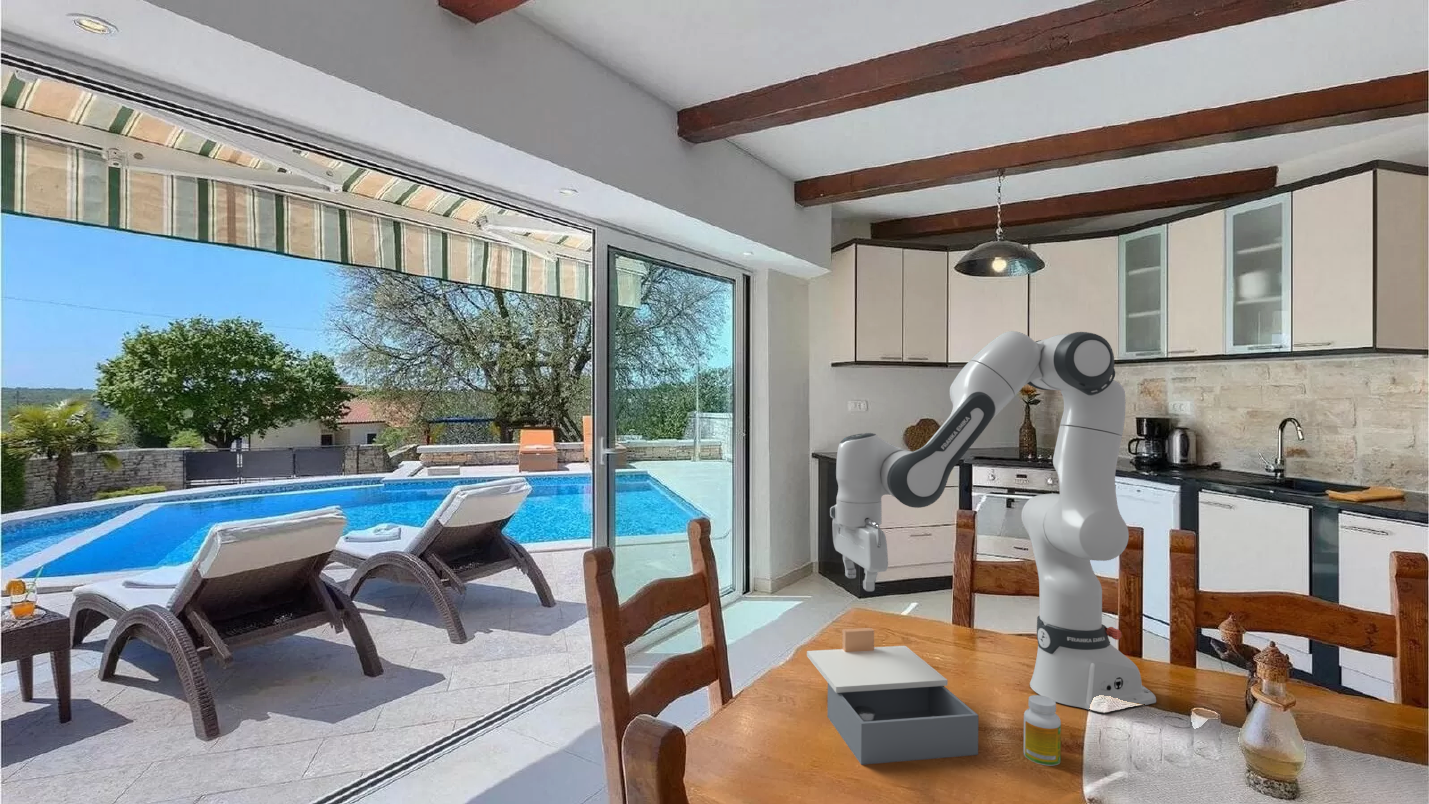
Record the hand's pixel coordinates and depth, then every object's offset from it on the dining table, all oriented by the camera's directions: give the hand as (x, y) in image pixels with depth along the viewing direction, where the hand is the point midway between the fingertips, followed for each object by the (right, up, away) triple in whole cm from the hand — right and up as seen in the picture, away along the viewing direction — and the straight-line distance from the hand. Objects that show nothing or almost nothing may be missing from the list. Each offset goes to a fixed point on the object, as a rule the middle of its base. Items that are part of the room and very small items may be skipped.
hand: (859, 583), depth 131 cm
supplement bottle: (+24, -22, -25) cm, 41 cm away
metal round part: (-3, -21, -16) cm, 27 cm away
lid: (+1, -14, -8) cm, 16 cm away
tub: (+3, -22, -18) cm, 28 cm away
